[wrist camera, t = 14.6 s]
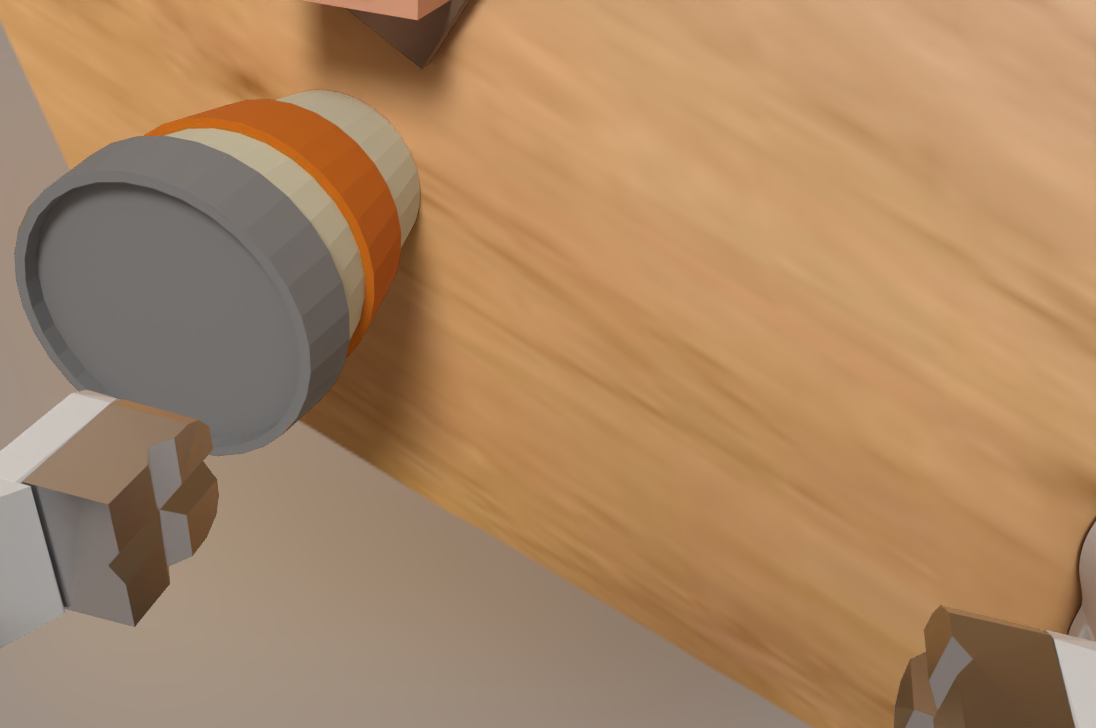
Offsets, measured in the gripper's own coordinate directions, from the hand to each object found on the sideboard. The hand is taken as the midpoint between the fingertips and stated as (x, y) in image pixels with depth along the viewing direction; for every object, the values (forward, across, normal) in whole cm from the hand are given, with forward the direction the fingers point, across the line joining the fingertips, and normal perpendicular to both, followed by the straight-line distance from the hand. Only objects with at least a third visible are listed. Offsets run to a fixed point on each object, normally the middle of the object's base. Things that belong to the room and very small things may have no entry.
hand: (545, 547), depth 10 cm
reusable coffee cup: (+33, +18, +12) cm, 40 cm away
